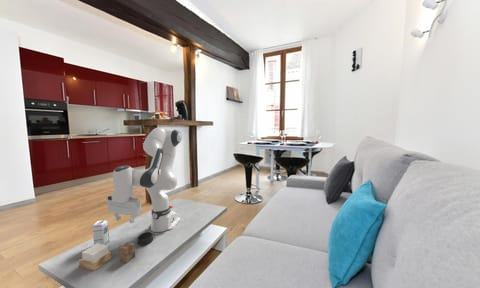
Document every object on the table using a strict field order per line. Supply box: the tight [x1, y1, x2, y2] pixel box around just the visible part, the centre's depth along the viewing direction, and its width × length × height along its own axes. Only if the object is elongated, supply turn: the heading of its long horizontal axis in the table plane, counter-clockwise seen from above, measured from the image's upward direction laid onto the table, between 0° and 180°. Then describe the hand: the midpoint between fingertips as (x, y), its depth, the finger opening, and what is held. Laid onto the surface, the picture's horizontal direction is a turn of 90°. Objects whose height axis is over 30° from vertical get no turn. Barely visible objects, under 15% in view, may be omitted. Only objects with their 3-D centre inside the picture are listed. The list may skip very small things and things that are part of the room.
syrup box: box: [91, 219, 110, 246], centre depth 117 cm, size 6×6×14 cm
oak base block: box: [78, 251, 113, 272], centre depth 102 cm, size 10×10×4 cm
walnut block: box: [119, 241, 136, 264], centre depth 104 cm, size 5×5×8 cm
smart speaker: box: [137, 231, 154, 246], centre depth 121 cm, size 9×9×4 cm
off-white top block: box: [81, 243, 109, 263], centre depth 102 cm, size 8×8×4 cm
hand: (125, 221), depth 103 cm, fingers open, 8 cm apart
